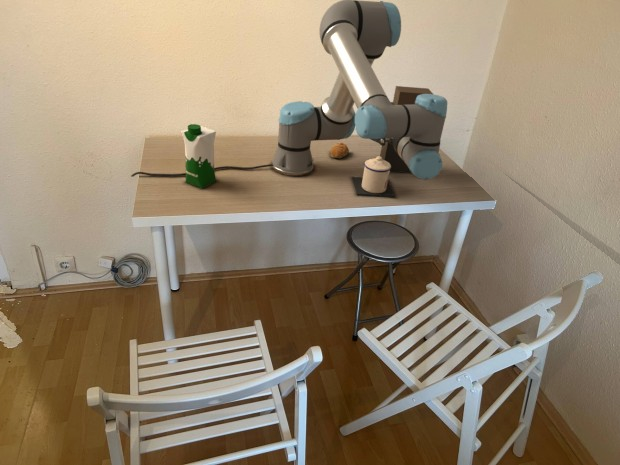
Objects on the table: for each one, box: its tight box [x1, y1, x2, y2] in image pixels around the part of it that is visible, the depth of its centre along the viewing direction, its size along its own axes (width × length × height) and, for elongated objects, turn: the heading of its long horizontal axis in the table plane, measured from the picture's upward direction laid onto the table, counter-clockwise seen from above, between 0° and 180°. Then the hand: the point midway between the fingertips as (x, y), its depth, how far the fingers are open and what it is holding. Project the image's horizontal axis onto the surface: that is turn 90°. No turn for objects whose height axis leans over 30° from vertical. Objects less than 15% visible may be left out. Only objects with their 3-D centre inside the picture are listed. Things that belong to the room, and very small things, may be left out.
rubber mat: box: [352, 176, 396, 198], centre depth 167 cm, size 13×13×1 cm
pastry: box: [330, 142, 350, 159], centre depth 187 cm, size 9×7×4 cm
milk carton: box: [181, 123, 217, 189], centre depth 154 cm, size 9×9×20 cm
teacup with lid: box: [362, 155, 391, 193], centre depth 164 cm, size 12×9×12 cm
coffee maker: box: [379, 85, 434, 174], centre depth 171 cm, size 18×14×30 cm
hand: (390, 124), depth 146 cm, fingers open, 13 cm apart
